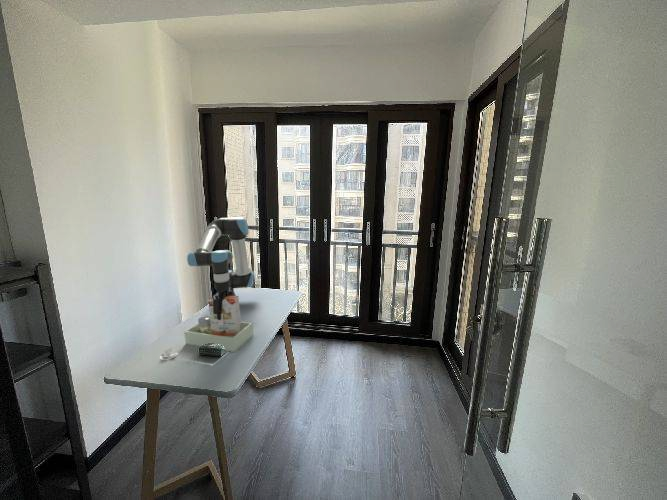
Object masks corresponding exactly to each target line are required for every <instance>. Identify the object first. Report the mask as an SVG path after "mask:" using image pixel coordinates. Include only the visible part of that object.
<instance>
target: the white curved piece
mask: <svg viewBox="0 0 667 500" xmlns="http://www.w3.org/2000/svg"><path fill="white" fill-rule="evenodd" d="M172 349H173V348H172V347H171V346H169V347H165V348H164V349H163V350H164V351H163V352H164V354H161V355H160V356H159V359H160V360H161V361H169V360H171V359H174V358H176V357H178V356H179V352H174V353H172V352H173V351H172ZM164 356H165V357H167V358H164Z"/></svg>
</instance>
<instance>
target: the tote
mask: <svg viewBox="0 0 667 500" xmlns="http://www.w3.org/2000/svg"><path fill="white" fill-rule="evenodd" d="M183 333H184V340H185V344H186V345H190V346H197V347H202V345H204V344H206V343H216V344H221V345H223V346H224V348H225V350H224V351H227V352H228V353H236V352H237V351H238V350H239V349H240V348H241V347H242V346H244V345H245V344H246V343H247V342H248V341H250V339H251V338H253V336H254V325H253V322H246V321H241V331H240V332H239V333H238V334H237V335H235V336H217V335H210V334H204V333H200V331H199V322H198V323H196V324H194V325H193V326H191V327H189V328H187V329H186V330H184V331H183Z"/></svg>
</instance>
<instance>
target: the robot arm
mask: <svg viewBox="0 0 667 500" xmlns="http://www.w3.org/2000/svg"><path fill="white" fill-rule="evenodd" d="M249 230H250V229H249V225H248V221H247V219H246V218H244V217H239V216H238V217H220V218H217V219H214V220H212V222H210V223H208V225H206V228H205V230H204V235H203V237H202V239H201V241H200V242H199V245H198V246H197V248H196V250H195V251H193V252H189V253H187V258H186V260H187V265H188V266H190V267H205V266H206V267H207V266H212V274H213V275H212V276H213V281H214V283H213V284H214V289H215V290H216V291H215V294H214V295H213V294H212V295H211V297H212V298H213V314H217V319H218V325H222V326H223V325H224V322H223V313H221V312H222V301H223V299H224V298H225V297H227V296H237V294H236V293H235V291H234V290H235V289H247V288H251V287H253V286H254V277H255V272H254V271H252V269H251V267H249V262H248V261H249V259H248V254H247V245H246V244H247V243H246V238H247V237H248V236H249V233H250V232H249ZM221 236H228V239H229V240H230V241H231V245H232V250H233V251H231V250H228V249H224V250H223V249H222V250H221V249H219V250H215V251H213V249H214V247H215V245H216V243H217V240H218V239H219V238H220V237H221ZM233 259H234V265H235V270H234V272H233V270H231V269H229V264H231V262H232V261H233ZM219 298H221V299H219Z"/></svg>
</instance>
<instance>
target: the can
mask: <svg viewBox="0 0 667 500" xmlns="http://www.w3.org/2000/svg"><path fill="white" fill-rule="evenodd" d="M197 321H198V323H199V331H200V333H204V334H210V335H212V332H211V322H210V315H205V316H202V317H201V316H200V317H199V318H198V319H197Z"/></svg>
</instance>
